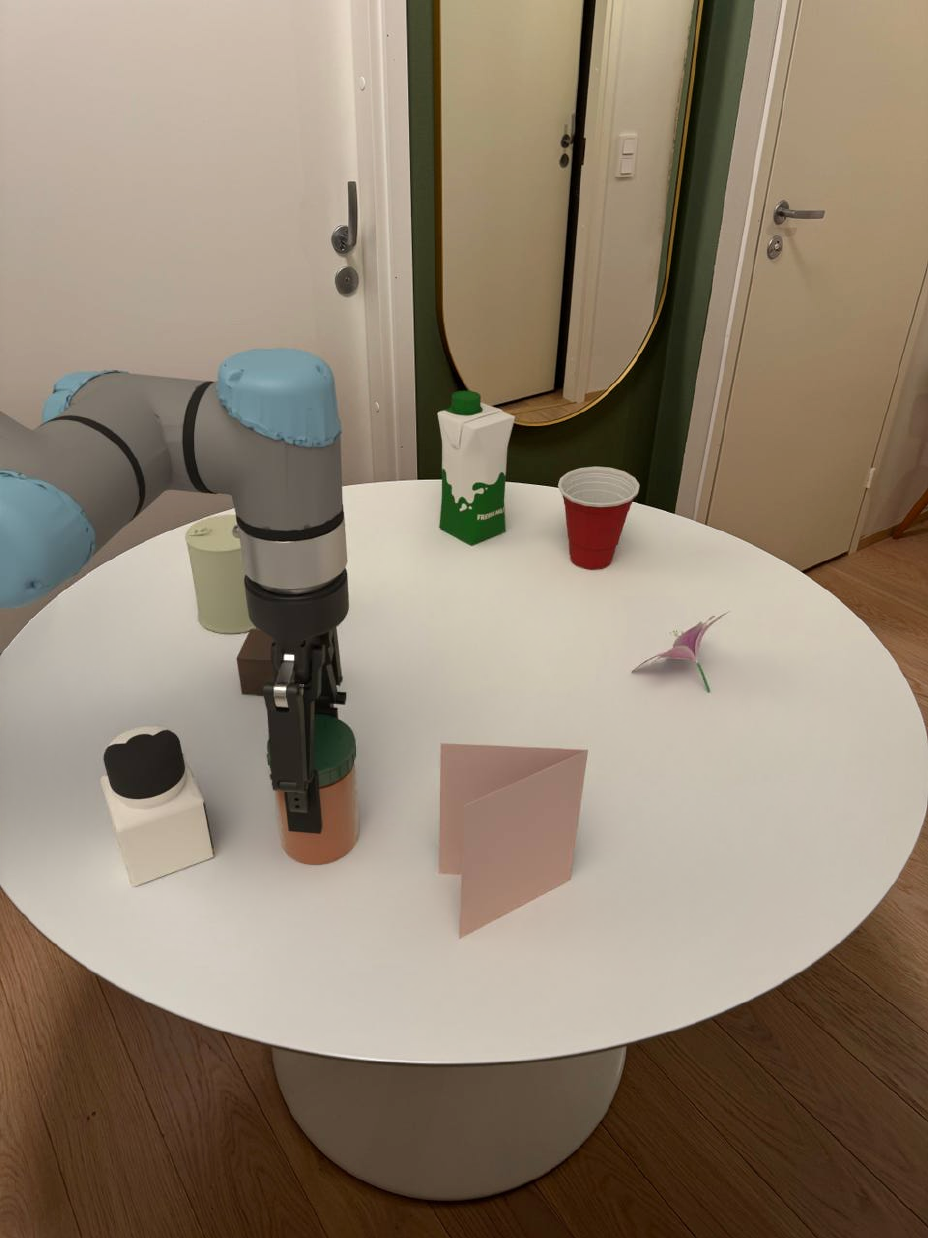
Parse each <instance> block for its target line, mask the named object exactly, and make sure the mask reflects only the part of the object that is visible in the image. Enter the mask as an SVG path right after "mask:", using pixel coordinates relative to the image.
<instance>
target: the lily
mask: <svg viewBox="0 0 928 1238" xmlns="http://www.w3.org/2000/svg"><path fill="white" fill-rule="evenodd" d="M730 612H731V610H729V611H727V612H725V613H724V614H722V615H720V616H718V617H716V615H713V616H710V617H709V618H708V619H707V620H706V621H705V622H702V621H699V622H698V623H697V624H696V625H694V626H692V627H691V628H689V629H687V630H686V631H684V632H683V631H681V634H679V633H678V630H672V632H669V634H670V635H672V636H674V637H675V640H674V641H673V643H672V648H670V649H668V650H667V651H664V652H661V653H658V654H655V655H653V656H651V657H650V658H648V659H646V660H645V661H642V662H641V663H640V664H638V666H636V667H635V668H634V669H632V672H635V671H636V670H637V669H638V668H640V667H641V666H643V665H645V664H647V662H649V661H651V660H653V659H654V660H653V661H651V662H650V663H649V665H652V664H653V663H656V662H657V661H658V660H659V659H664V658H665V659H675V660H676V659H677V660H686V661H693V662H694V663H695V665H696V666H697V668H698V670H699V673H700V675H701V677H702V680H703V682H704V685H705V688H706V690H707V693H711V689H710V686H709V683H708V681H707V678H706V674H705V673H704V671H703V668H702V666H701V664H700V661H699V659H698V655H699V649H700V645H701V642H702V639H703V637H704V636H705V633H706V632H707V630H708V629H709V628H710V627H711V626H712V625H713V624H715V623H716V622H717V621H719V620H720V619H721V618H723V617H724V616H725V615H727V614H729V613H730ZM715 617H716V618H715ZM714 618H715V619H714ZM710 620H712V621H710ZM709 621H710V622H709ZM708 622H709V623H708ZM673 633H674V634H673ZM655 658H656V659H655Z"/></svg>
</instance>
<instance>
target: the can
mask: <svg viewBox="0 0 928 1238" xmlns="http://www.w3.org/2000/svg"><path fill="white" fill-rule="evenodd" d="M235 525H237V522H236V514H221V515H215V516H210V517H207V518H204V519H201V520H199V521H197V522H195V523H193V524H192V525H190V527H188V528H187V530H186V531H185V533H184V534H185V535H184V539H185V542H186V547H187V551H188V552H187V553H188V556H189V557H188V558H189V563H190V568H191V575H192V580H193V585H194V586H193V587H194V591H195V597H196V605H197V612H198V613H197V619H198V621H199V623H200V625H201V626H202V627H203V628H204V629H206V630H209V631H211V632H214V633H218V634H224V635H235V634H242V633H247V632H248V633H249V631H250V629H257V628H256V627H255V626H254V625H253V623H252V622H251V620H250V618H249V615H248V608H247V600H246V593H245V585H244V578H245V575H246V574H245V572H244V570H243V563H242V556H241V547H240V539H239V538H235V537H234V536H233V534H232V530H233V527H234V526H235Z"/></svg>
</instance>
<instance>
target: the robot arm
mask: <svg viewBox="0 0 928 1238" xmlns="http://www.w3.org/2000/svg"><path fill="white" fill-rule="evenodd" d="M337 398H338V397H337V391H336V382H335V376H334V373H333V370H332V368H331V366H330V365H329V364H328V363H327V362H326V361H325V360H324V359H323V358H322V357H320V356H319V355H316V354H314V353H312V352H310V351H306V350H301V349H295V348H288V347H274V348H272V349H264V348H257V349H256V348H254V349H249V350H243V351H241V352H237V353H234V354H232V355H230V356H228V357H227V358H225V359H224V360H222V362H221V363H220V364H219V367H218V369H217V380H215V381H213V380H212V381H211V380H198V379H190V378H179V377H169V376H159V375H148V374H139V373H130V372H128V371H126V370H118V369H106V370H102V371H100V370H99V371H95V370H94V371H91V370H88V371H87V370H84V371H83V370H79V371H74V372H69V373H67V374H64V375H63V376H61V377H60V378H58V380H57V381H56V382H54V384H53V386H52V394H51V395H49V396H47V397H46V398H45V401H44V403H43V407H42V410H41V411H42V412H41V424H40V425H38V426H37V427H35V428H34V429H31V428H29V427H27V426H25V425H23V424H22V423H20V422H19V421H17V420H16V419H14V418H12V417H11V416H9V415H8V414H6V413H5V412H3V411H1V410H0V610H14V609H20V608H24V607H27V606H30V605H33V604H35V603H36V602H38V601H39V600H41V599H42V598H44V597H45V596H47V595H48V594H49V593H51V592H52V591H54V590H55V589H56V588H58V587H59V586H61V585H62V584H64V582H66V581H67V580H70V579H71V578H72V577H75V576H76V575H78V574H79V573H80V572H81V571H82V569H84V567H85V566H87V565H88V564H89V563H90V561H91V560H92V558H93V557H94V556H95V555H96V554H98V552H99V551H100V550H101V549H103V547H105V545H106V544H107V543H109V541H111V540H112V539H113V538H114V537H115V536H116V535H117V534H118V533H119V532H120V531H121V530H123V528H124V527H125V526H127V525H128V524H129V523H130V522H132V521H134V520H135V519H136V518H137V517H138V516H139V515H140V514H141V513H142V512H144V511H145V510H146V509H147V508H148V507H149V506H151V504H153V502H155V501H156V500H157V499H158V498H159V497H160V496H161V495H162V494H163V493H165V492H166V491H178V492H179V491H181V492H189V493H198V494H199V493H200V494H210V495H218V494H219V495H220V494H221V495H229V496H231V499H232V503H233V509H234V513H235V515H236V522H237V525H235V526H234V527H233V530H232V534H233V536H234V537H235V538H239V539H240V547H241V556H242V563H243V570H244V572H245V574H246V575H245V578H244V585H245V593H246V600H247V608H248V615H249V618H250V620H251V622H252V623H253V625H254V626H255V627H256V629H259V630H260V631H262V632H264V633H265V634H267V635H268V636H270V637H271V638H272V639H273V640H274V641H273V642H272V645H271V663H272V665H273V666H274V682H272V681H266V682H265V683H264V686H263V689H262V691H263V700H264V704H265V709H266V715H267V730H268V739H269V746H270V760H271V770H270V774H269V779H270V781H271V787H272V791H273V792H275V791H284V796H285V805H286V813H287V822H288V830H289V831H292V832H304V833H316V834H321V830H322V817H321V805H320V794H319V783H318V771H317V770H313V753H314V714H321V715H328V716H332V717H335V718H338V719H339V707H335V706H334V705H341V706H345V705H346V703H347V694H348V693H347V691H339V690H338V687H341V685H342V682H343V680H344V679H343V676H342V675H343V674H342V666H341V655H340V648H339V646H340V645H339V638H338V629H337V627H339V626H340V625H341V624H342V623H343V621H344V620H345V619H346V618H347V615H348V614H349V610H350V597H349V596H350V594H349V579H348V569H347V564H348V550H347V548H348V547H347V533H346V519H345V512H344V501H343V500H344V499H343V474H342V473H343V472H342V444H341V443H342V442H341V441H342V439H341V435H342V432H343V430H342V421H341V419H340V415H339V408H338V399H337Z"/></svg>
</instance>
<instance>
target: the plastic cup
mask: <svg viewBox="0 0 928 1238" xmlns="http://www.w3.org/2000/svg"><path fill="white" fill-rule="evenodd" d="M557 487H558V490H559V492H560V493H561V495H562V499H563V504H564V512H565V524H566V532H567V539H568V552H569V553H568V555H569V556H570V561H571V562H572V564H574V565H575V566H577V567H579V568H582V569H586V570H593V571H594V570H601V569H605V568H607V567H608V566H609V565H611V562H612V561H613V558H614V555H615V552H616V549H617V546H618V544H619V542H620V539H621V536H622V533H623V532H622V531H623V530H624V526H625V523H626V521H627V520H626V519H627V517H628V514H629V512H630V510H631V506H632V504H633V502H634V499H635V498H636V497H637V496H638V494H639V490H640V483H639V482H638V480H637V479H636V477H635V476H633V475H631V474H630V473H629V472H626V471H624V470H621V469H617V468H613V467H607V466H606V467H605V466H587V467H580V468H577V469H574V470H570V471H567V473H565V474H564V475H563V476H561V477H559V481H558V485H557Z"/></svg>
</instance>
